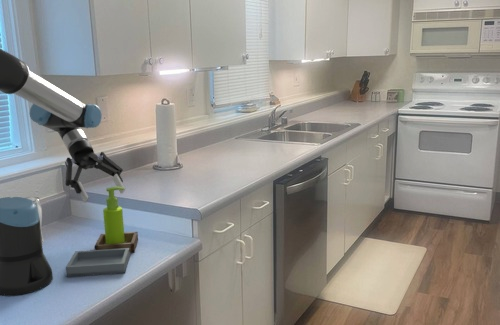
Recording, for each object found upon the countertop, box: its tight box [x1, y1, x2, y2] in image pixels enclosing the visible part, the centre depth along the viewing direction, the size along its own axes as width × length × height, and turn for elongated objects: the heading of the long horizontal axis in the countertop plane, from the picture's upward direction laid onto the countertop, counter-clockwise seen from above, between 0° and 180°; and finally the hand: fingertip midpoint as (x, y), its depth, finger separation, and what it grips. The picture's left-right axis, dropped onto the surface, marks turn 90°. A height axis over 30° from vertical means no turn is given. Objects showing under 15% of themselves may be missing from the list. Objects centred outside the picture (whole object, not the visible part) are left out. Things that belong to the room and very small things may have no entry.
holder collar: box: [94, 231, 139, 254], centre depth 159 cm, size 12×11×3 cm
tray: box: [65, 248, 131, 278], centre depth 144 cm, size 16×12×3 cm
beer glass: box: [26, 196, 45, 243], centre depth 164 cm, size 7×7×15 cm
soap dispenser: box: [102, 186, 126, 244], centre depth 157 cm, size 6×7×20 cm
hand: (105, 195), depth 162 cm, fingers open, 13 cm apart
